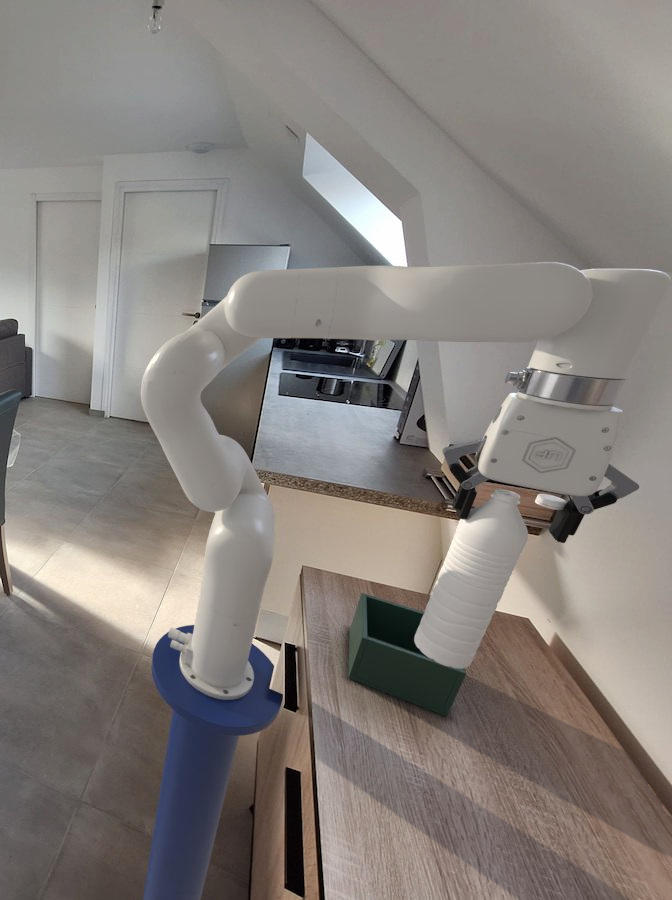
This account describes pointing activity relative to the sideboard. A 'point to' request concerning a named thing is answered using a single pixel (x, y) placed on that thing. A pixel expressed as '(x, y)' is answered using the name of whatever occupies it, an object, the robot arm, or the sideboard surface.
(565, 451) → the robot arm
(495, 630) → the sideboard surface
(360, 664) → the tote
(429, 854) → the sideboard surface
